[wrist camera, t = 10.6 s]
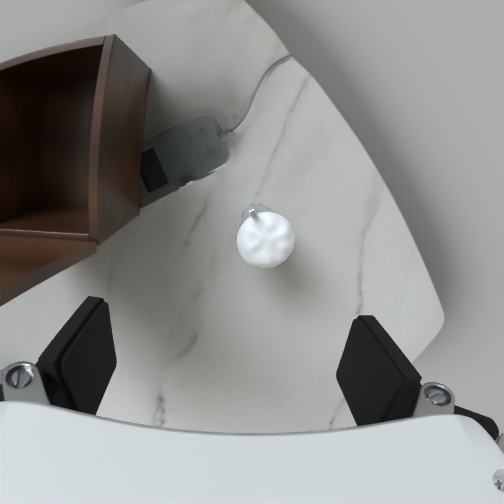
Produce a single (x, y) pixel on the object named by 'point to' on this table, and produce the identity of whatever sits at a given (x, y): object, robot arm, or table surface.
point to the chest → (72, 140)
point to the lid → (36, 261)
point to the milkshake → (264, 237)
